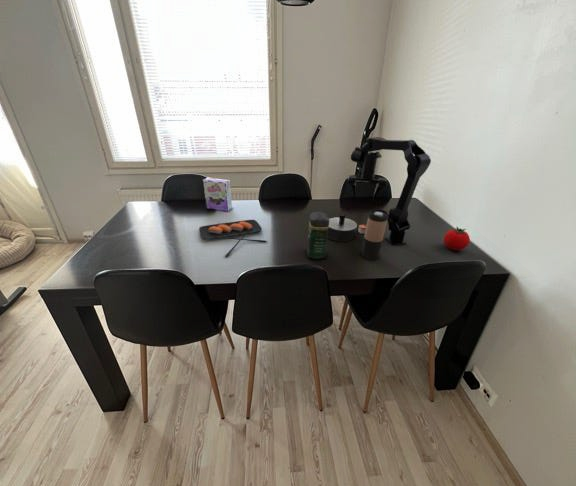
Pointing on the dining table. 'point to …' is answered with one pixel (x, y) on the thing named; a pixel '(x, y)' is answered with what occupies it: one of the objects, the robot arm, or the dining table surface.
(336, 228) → the pan lid
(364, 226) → the sushi
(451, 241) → the tomato
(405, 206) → the robot arm
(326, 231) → the coffee jar
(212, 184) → the candy box
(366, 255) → the travel mug
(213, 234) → the sushi plate
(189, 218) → the dining table surface
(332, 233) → the pan
